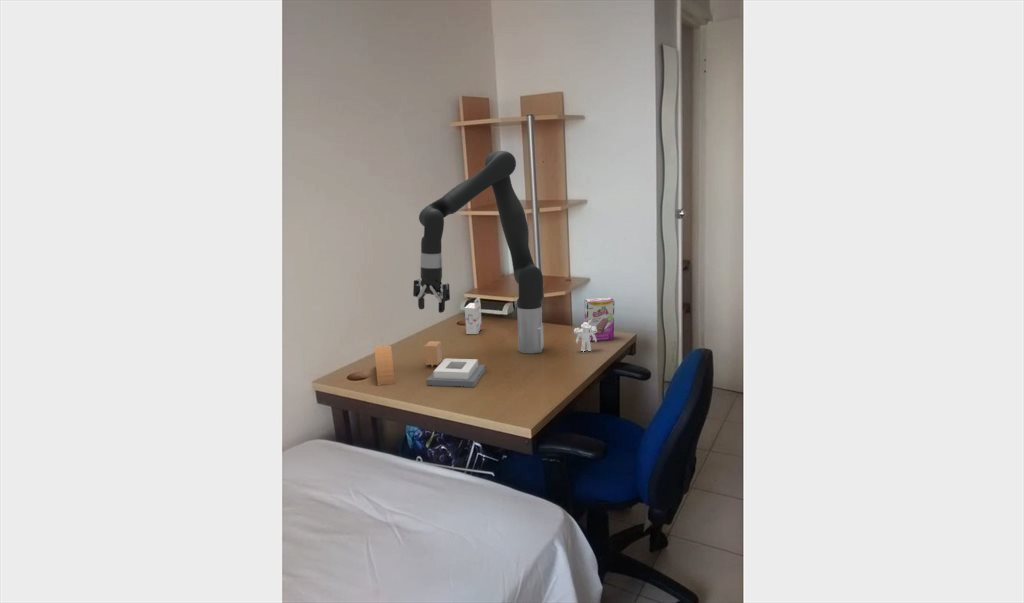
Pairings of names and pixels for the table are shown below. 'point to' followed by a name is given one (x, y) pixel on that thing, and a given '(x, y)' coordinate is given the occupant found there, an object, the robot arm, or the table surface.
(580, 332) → the blocky character figurine
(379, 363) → the arch
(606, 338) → the candy bar box
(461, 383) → the socket plate
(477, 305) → the ink cartridge box
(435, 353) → the cardboard parcel
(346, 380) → the table surface
